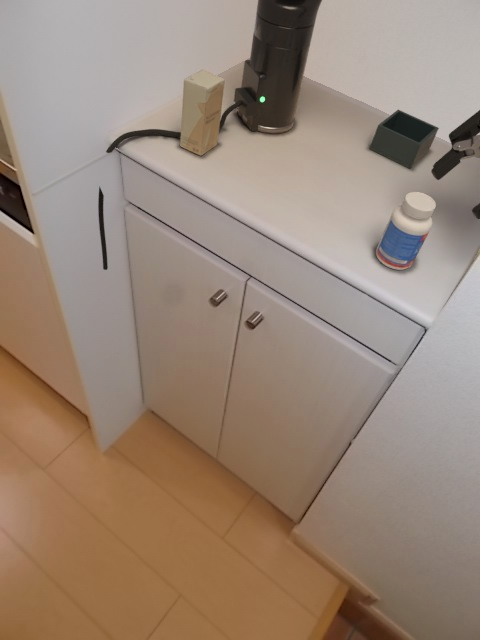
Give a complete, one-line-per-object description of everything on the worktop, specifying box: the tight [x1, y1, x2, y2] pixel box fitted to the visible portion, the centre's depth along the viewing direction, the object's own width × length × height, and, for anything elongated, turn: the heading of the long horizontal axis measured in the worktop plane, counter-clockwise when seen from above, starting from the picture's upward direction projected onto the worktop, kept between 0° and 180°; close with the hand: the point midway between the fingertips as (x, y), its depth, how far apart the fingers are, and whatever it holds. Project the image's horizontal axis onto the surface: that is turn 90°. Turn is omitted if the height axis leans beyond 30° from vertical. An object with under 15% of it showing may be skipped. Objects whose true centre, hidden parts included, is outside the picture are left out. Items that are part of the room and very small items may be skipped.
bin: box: [369, 109, 440, 169], centre depth 91 cm, size 8×8×5 cm
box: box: [179, 69, 226, 156], centre depth 82 cm, size 5×4×11 cm
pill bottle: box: [375, 191, 437, 271], centre depth 70 cm, size 6×5×10 cm
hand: (453, 194), depth 68 cm, fingers open, 8 cm apart
